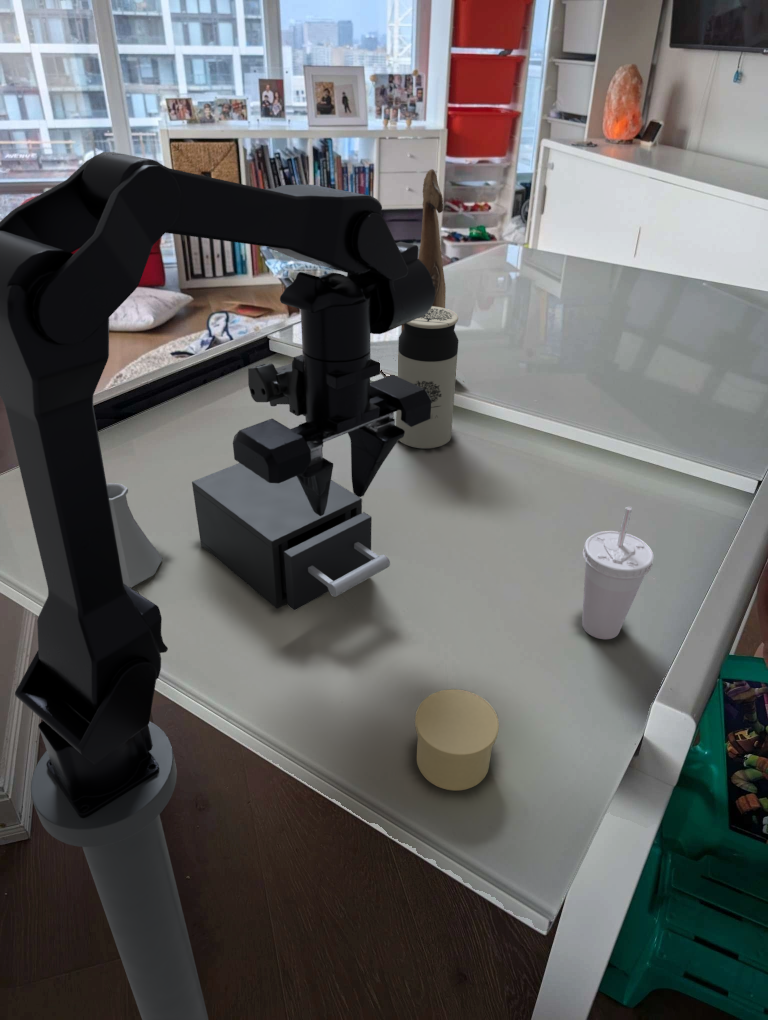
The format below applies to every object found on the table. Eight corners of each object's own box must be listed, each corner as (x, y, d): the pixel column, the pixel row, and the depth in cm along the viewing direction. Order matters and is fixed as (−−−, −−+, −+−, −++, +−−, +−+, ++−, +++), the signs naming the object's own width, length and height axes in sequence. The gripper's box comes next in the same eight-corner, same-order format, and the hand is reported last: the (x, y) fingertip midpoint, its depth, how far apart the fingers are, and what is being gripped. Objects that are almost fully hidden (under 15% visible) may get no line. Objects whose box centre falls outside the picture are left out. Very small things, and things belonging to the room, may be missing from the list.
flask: (77, 579, 81) (56, 500, 75) (121, 542, 87) (104, 467, 81) (133, 596, 79) (116, 517, 73) (174, 557, 84) (161, 481, 79)
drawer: (401, 589, 79) (403, 536, 75) (323, 635, 73) (322, 580, 69) (295, 515, 90) (292, 466, 86) (220, 550, 84) (213, 499, 80)
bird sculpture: (404, 397, 120) (413, 180, 102) (375, 369, 129) (378, 165, 111) (466, 386, 124) (485, 175, 106) (433, 360, 133) (445, 161, 115)
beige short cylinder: (455, 809, 59) (459, 769, 56) (396, 757, 63) (398, 717, 60) (509, 761, 62) (516, 722, 60) (450, 715, 66) (454, 676, 64)
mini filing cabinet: (361, 563, 84) (362, 498, 79) (276, 609, 78) (271, 541, 73) (283, 508, 93) (279, 447, 88) (200, 545, 86) (191, 481, 82)
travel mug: (405, 420, 113) (410, 302, 103) (457, 429, 111) (466, 309, 101) (388, 444, 107) (391, 320, 97) (442, 454, 105) (451, 329, 95)
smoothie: (635, 614, 78) (666, 500, 70) (631, 655, 73) (664, 538, 65) (572, 599, 80) (596, 487, 72) (564, 639, 75) (588, 523, 67)
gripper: (357, 301, 74) (356, 442, 82) (188, 348, 63) (208, 504, 72) (439, 333, 67) (430, 483, 76) (266, 391, 56) (278, 558, 65)
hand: (338, 504), depth 72 cm, fingers open, 5 cm apart
